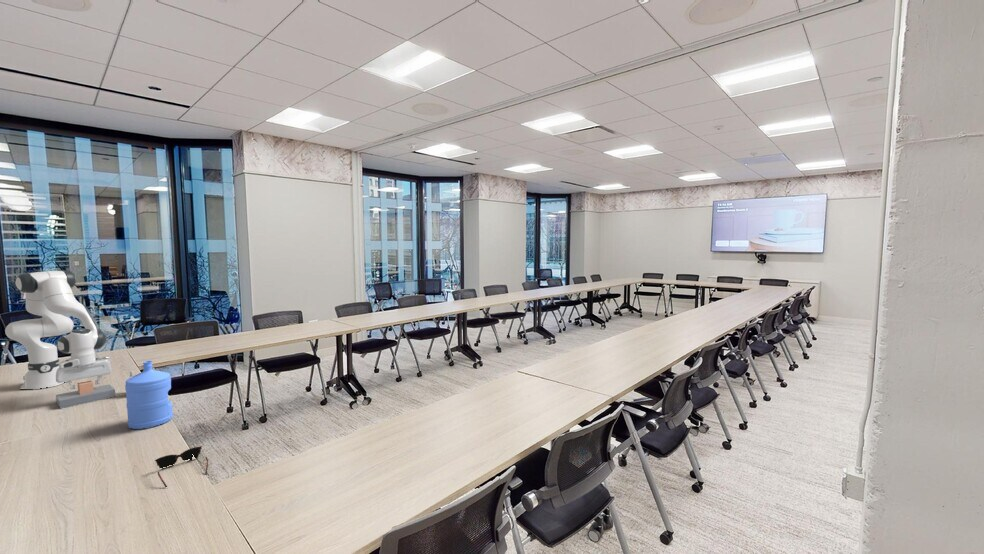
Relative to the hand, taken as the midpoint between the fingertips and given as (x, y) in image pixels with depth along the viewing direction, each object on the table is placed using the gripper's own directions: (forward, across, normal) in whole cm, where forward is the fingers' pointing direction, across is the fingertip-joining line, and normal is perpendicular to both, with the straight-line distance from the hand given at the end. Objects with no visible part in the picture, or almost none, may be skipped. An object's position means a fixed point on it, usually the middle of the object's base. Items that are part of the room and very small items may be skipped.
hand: (85, 386), depth 206 cm
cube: (+3, 0, 0) cm, 3 cm away
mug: (+7, -18, +10) cm, 22 cm away
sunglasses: (+8, -8, +122) cm, 123 cm away
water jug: (+7, -12, +62) cm, 63 cm away
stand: (+7, 0, 0) cm, 7 cm away
